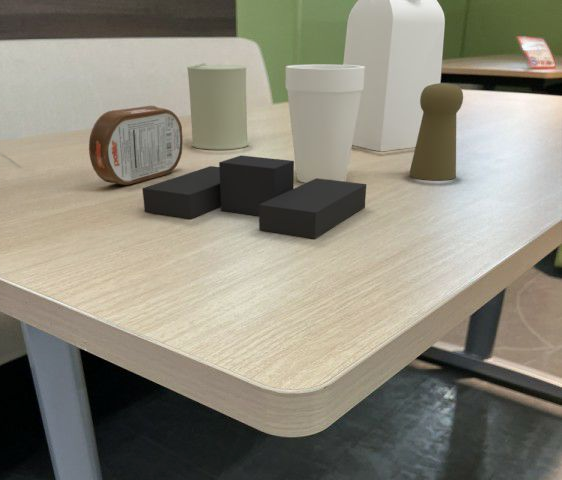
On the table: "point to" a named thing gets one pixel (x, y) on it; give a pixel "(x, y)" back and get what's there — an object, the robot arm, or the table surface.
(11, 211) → the table surface
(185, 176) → the pad pair
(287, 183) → the black rectangular block
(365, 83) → the milk
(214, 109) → the can
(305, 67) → the foam cup
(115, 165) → the tin
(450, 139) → the olive knobbed tapered post
